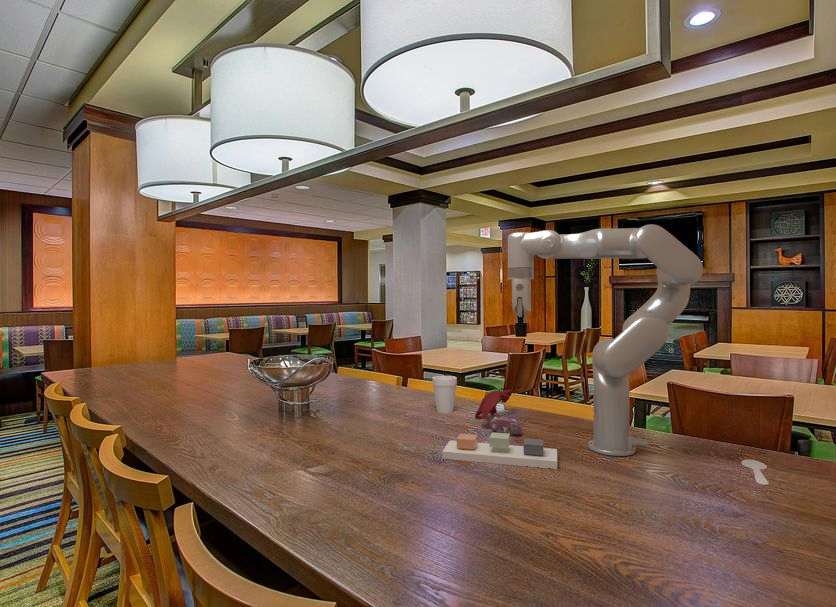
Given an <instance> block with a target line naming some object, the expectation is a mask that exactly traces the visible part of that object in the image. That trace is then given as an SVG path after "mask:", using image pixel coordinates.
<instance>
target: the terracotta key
mask: <svg viewBox="0 0 836 607" xmlns="http://www.w3.org/2000/svg"><path fill="white" fill-rule="evenodd" d="M478 440H479V438H478V434H474V433H473V434H471V433H459V435H458V436H457V437H456V441H457V448H465V449H475V448H476V446H477V444H478V443H479V442H478Z"/></svg>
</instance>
